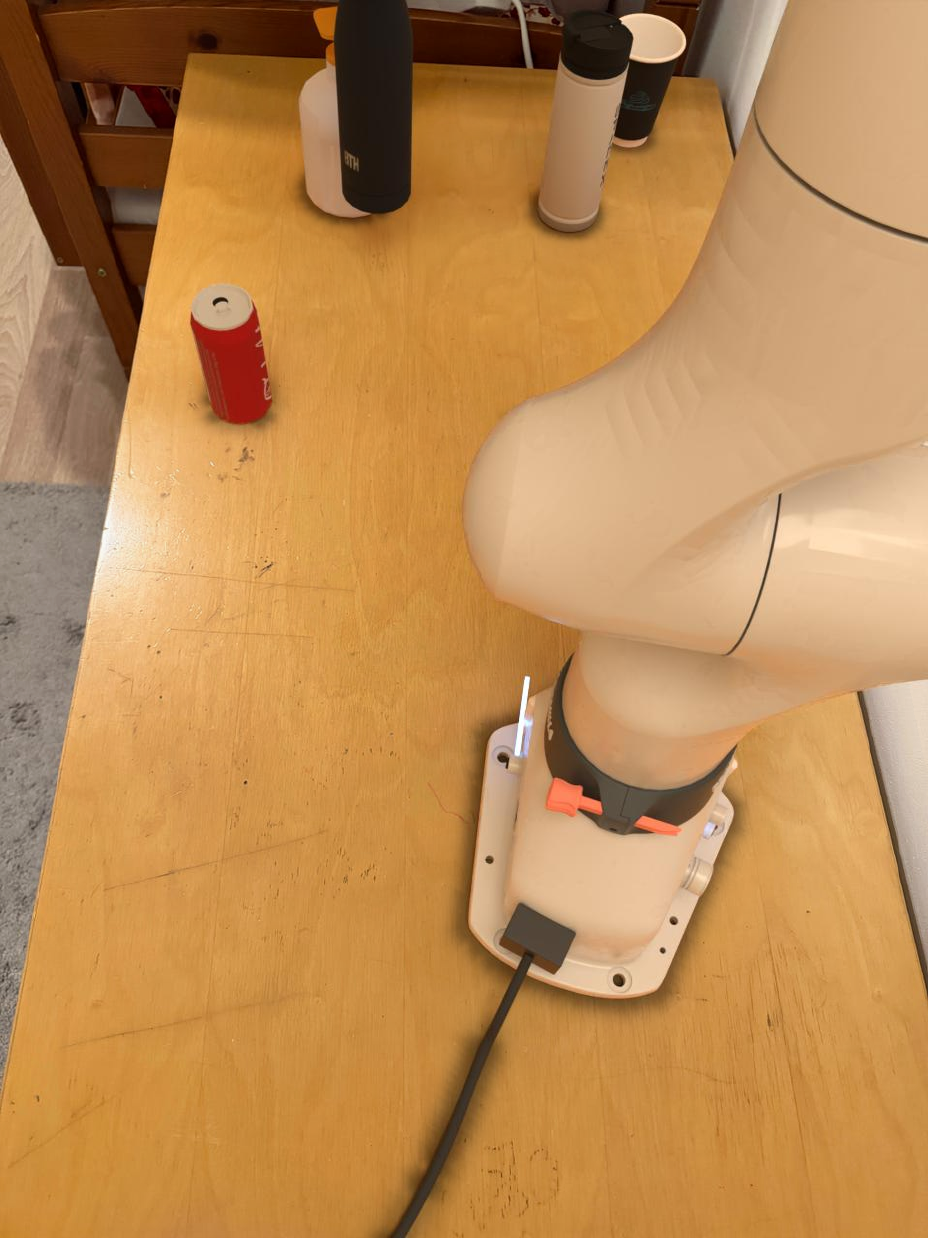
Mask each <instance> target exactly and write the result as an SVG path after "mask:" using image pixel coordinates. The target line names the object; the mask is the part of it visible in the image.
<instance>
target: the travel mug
mask: <svg viewBox="0 0 928 1238" xmlns="http://www.w3.org/2000/svg"><path fill="white" fill-rule="evenodd" d="M564 22H565V23H564V24H562V26H561V35H562V41H561V42H562V43H561V48H560V53H559V60H558V63H557V64H558V65H557V72H556V79H555V85H554V91H553V100H552V106H551V113H550V119H549V125H548V126H549V127H548V133H547V134H548V135H547V139H546V147H545V154H544V161H543V167H542V172H541V173H542V175H541V181H540V187H539V195H538V201H537V214H538V216H539V218H540V219H541V221H543V223H544V224H546V225H547V226H548V227H550V228H551V229H554V230H557V231H559V232H565V233H576V232H582V231H584V230H586V229H588V228H590V227H591V226H592V225H593V224H594V223H595V222H596V220H597V217H598V213H599V208H600V204H601V200H602V199H601V198H602V194H603V189H604V185H605V179H606V174H607V171H608V170H607V169H608V166H609V160H610V157H611V151H612V147H613V143H612V142H613V138H614V133H615V128H616V123H617V118H618V114H619V109H620V104H621V99H622V95H623V90H624V85H625V80H626V76H627V70H628V66H629V58H630V53H631V49H632V44H633V39H634V38H633V34H632V33H631V32H630V30H629V29H628V28H627V27H626V26H625V25H624V24H622V21H621V20H620V19H619V17H617V16H615V15H613V14H611V13H608V12H607V11H606V12H605V11H602V10H597V9H578V10H576V11H573V12H571V13H570V14H568V15H567V16H566V19H565V21H564Z"/></svg>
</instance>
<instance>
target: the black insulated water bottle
mask: <svg viewBox="0 0 928 1238" xmlns="http://www.w3.org/2000/svg"><path fill="white" fill-rule="evenodd" d="M337 6H338V7H337ZM337 6H336V7H337V13H336V20H335V29H334V41H333V42H334V53H335V71H336V89H337V107H338V125H339V143H340V160H341V178H342V194H343V196H344V198H345V200H346V201H347V202H348V203H349V204H350V205H351V206H352V207H354V208H356V209H358V210H360V211H362V212H366V213H371V214H370V215H383V214H388V213H393V212H395V211H397V210H399V209H401V208H402V207H404V206H405V205H406V204H407V203H408V201H409V200H410V197H411V195H412V152H413V151H412V149H413V85H414V84H413V83H414V82H413V81H414V79H413V78H414V71H413V70H414V36H413V29H412V22H411V17H410V12H409V7H408V2H407V0H338V2H337Z"/></svg>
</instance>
